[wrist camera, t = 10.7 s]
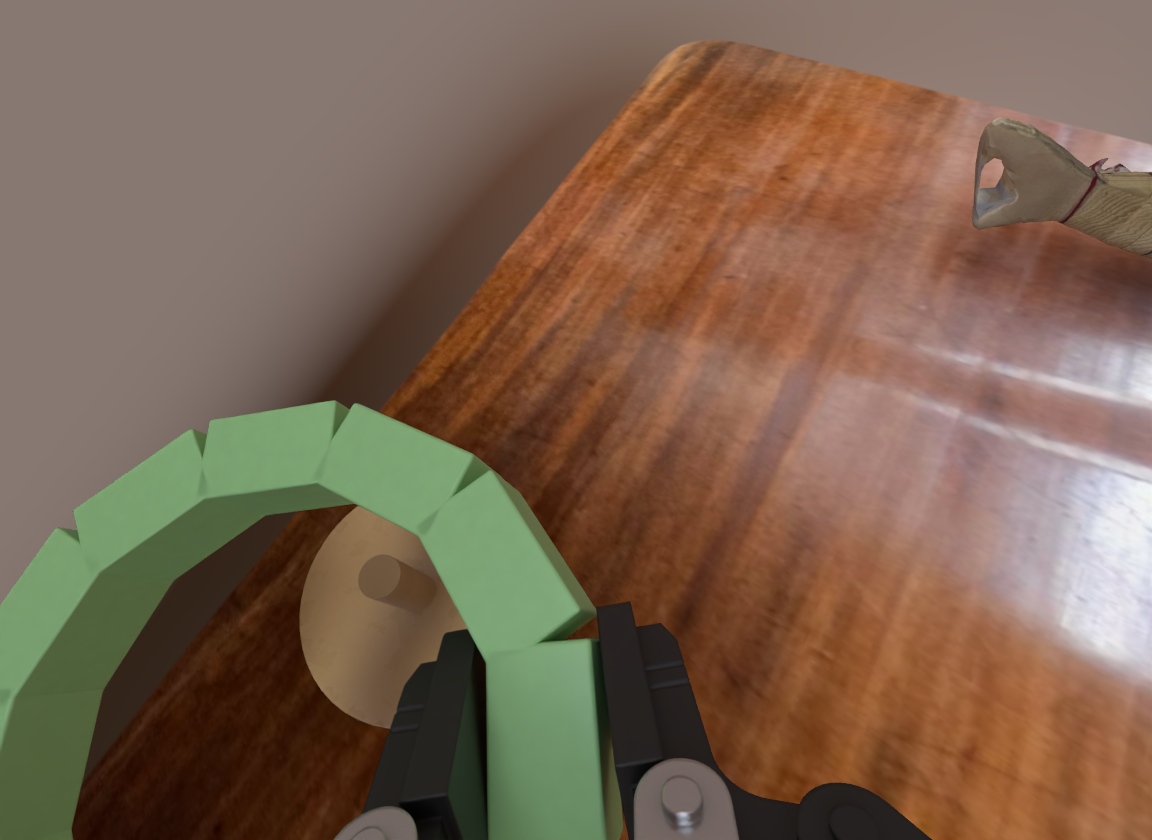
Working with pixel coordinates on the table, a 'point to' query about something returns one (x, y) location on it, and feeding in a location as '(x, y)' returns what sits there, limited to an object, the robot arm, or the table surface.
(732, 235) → the table surface
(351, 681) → the stand
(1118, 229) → the wood carving
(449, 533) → the ring
